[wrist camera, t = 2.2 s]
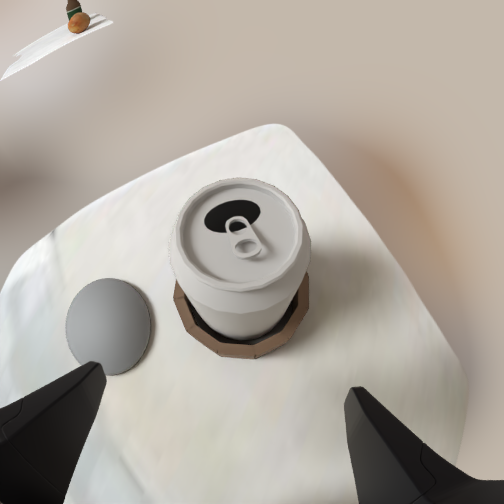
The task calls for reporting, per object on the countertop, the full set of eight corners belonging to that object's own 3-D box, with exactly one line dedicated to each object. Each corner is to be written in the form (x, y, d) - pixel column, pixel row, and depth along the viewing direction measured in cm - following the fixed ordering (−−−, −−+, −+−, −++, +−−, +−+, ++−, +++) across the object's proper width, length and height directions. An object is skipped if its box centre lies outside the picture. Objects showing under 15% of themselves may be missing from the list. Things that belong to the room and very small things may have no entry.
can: (267, 248, 26) (280, 153, 15) (299, 323, 23) (346, 269, 12) (188, 273, 25) (149, 189, 14) (214, 354, 22) (181, 327, 11)
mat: (170, 318, 23) (168, 317, 22) (112, 395, 19) (110, 395, 19) (105, 263, 25) (103, 260, 24) (54, 331, 21) (51, 329, 21)
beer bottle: (73, 26, 78) (64, -9, 57) (87, 20, 79) (78, -16, 57) (69, 30, 75) (59, -7, 53) (82, 24, 76) (73, -14, 54)
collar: (322, 282, 24) (331, 270, 22) (259, 381, 21) (260, 382, 18) (228, 226, 27) (226, 208, 24) (160, 311, 23) (149, 302, 20)
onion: (71, 34, 69) (66, 17, 60) (92, 25, 71) (87, 7, 62) (69, 38, 65) (64, 20, 56) (92, 28, 67) (87, 9, 58)
